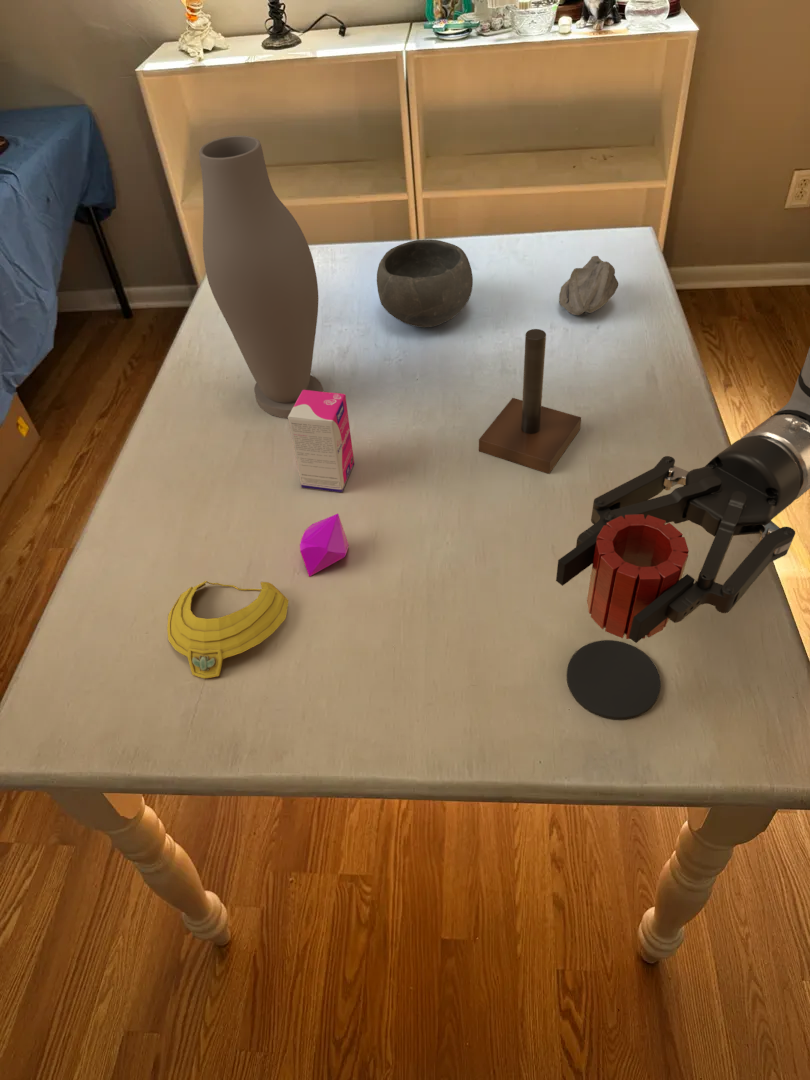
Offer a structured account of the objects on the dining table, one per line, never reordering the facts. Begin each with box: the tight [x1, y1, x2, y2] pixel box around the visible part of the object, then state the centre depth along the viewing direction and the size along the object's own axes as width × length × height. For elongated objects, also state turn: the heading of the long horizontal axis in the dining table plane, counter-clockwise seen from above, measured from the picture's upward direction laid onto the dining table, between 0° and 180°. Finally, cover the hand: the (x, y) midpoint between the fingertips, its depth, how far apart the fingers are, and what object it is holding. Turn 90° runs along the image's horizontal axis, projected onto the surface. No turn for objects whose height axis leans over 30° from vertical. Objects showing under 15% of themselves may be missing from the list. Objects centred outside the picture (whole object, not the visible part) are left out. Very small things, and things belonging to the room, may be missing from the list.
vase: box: [198, 135, 324, 419], centre depth 101 cm, size 13×13×35 cm
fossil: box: [558, 255, 619, 316], centre depth 122 cm, size 11×9×8 cm
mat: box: [566, 639, 662, 721], centre depth 77 cm, size 9×9×1 cm
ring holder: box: [478, 328, 582, 475], centre depth 98 cm, size 10×10×16 cm
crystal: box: [299, 513, 350, 578], centre depth 90 cm, size 5×5×5 cm
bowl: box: [376, 239, 474, 328], centre depth 123 cm, size 15×15×10 cm
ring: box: [586, 514, 690, 640], centre depth 66 cm, size 7×7×8 cm
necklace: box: [166, 580, 290, 679], centre depth 85 cm, size 13×13×4 cm
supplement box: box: [287, 390, 355, 493], centre depth 97 cm, size 6×6×12 cm
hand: (596, 600), depth 64 cm, fingers closed on ring, 7 cm apart
